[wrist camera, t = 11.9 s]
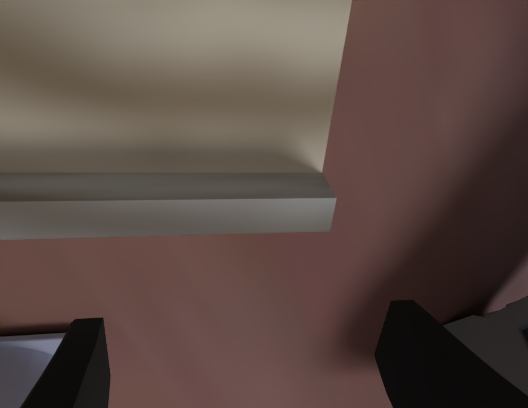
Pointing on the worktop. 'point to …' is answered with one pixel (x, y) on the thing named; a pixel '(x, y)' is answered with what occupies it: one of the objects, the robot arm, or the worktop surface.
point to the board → (166, 116)
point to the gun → (499, 340)
